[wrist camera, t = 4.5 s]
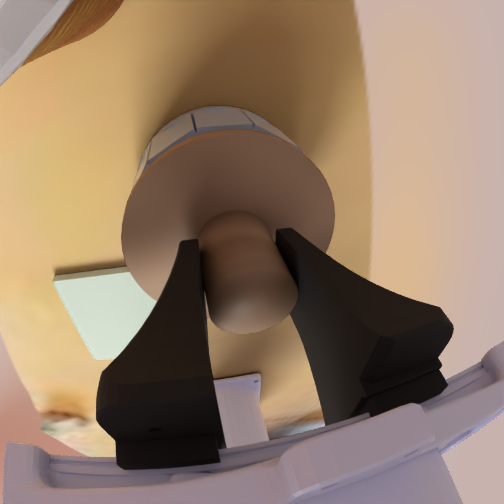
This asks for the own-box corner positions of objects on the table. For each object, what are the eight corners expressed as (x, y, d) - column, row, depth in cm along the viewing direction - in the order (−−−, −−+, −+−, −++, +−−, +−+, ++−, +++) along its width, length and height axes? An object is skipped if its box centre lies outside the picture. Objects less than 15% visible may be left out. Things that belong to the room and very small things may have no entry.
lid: (306, 296, 17) (336, 358, 14) (137, 312, 15) (139, 386, 12) (345, 135, 12) (410, 180, 9) (112, 133, 10) (86, 184, 7)
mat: (197, 344, 26) (197, 349, 25) (95, 354, 24) (95, 360, 23) (181, 259, 20) (182, 265, 20) (54, 275, 18) (52, 281, 18)
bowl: (287, 238, 21) (308, 278, 18) (150, 255, 19) (149, 301, 16) (296, 103, 16) (329, 121, 12) (126, 115, 14) (112, 137, 11)
